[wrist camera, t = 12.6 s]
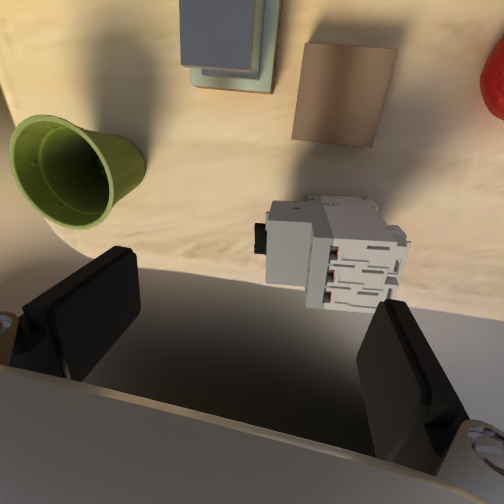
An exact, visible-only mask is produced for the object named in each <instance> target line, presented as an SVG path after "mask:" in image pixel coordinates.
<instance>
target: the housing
mask: <svg viewBox="0 0 504 504" xmlns="http://www.w3.org/2000/svg"><path fill="white" fill-rule="evenodd" d="M265 2H266V0H179V10H180V46H181V65H182V66H184V67H189V68H202V75H203V76H208V77H220V78H232V79H244V80H256V81H259V76H260V63H261V51H262V39H263V27H264V14H265Z"/></svg>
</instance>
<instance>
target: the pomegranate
mask: <svg viewBox="0 0 504 504" xmlns="http://www.w3.org/2000/svg"><path fill="white" fill-rule="evenodd" d="M480 88H481V93H482V96H483V99H484V102H485V104H486V106H487V108H488V110H489V111H490V112H491V113H492V114H493V115H494V116H496V117H498V118H500V119H502V120H504V37H503V38H502V39H501V40H500V42H499V43H498V44H497V45H496V47H495V48H494V50H493V52H492V54H491V55H490V57H489V59H488V60H487V62H486V64H485V67H484V69H483V71H482V74H481V76H480Z"/></svg>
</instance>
